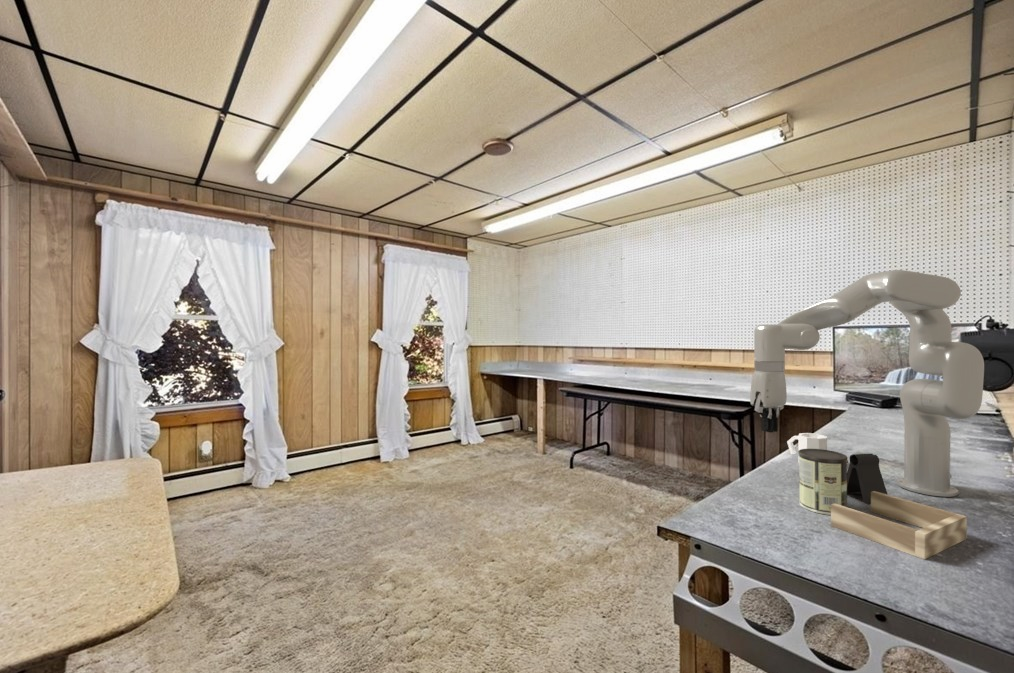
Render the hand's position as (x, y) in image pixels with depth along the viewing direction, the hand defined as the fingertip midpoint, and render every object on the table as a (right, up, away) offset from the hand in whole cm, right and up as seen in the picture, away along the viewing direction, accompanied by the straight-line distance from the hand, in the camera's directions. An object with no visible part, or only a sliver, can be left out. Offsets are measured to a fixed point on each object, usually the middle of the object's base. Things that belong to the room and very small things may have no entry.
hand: (769, 430), depth 125 cm
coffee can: (+6, -17, -12) cm, 22 cm away
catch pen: (+13, -17, -26) cm, 34 cm away
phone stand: (+22, -17, -6) cm, 29 cm away
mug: (+28, -17, +25) cm, 41 cm away
